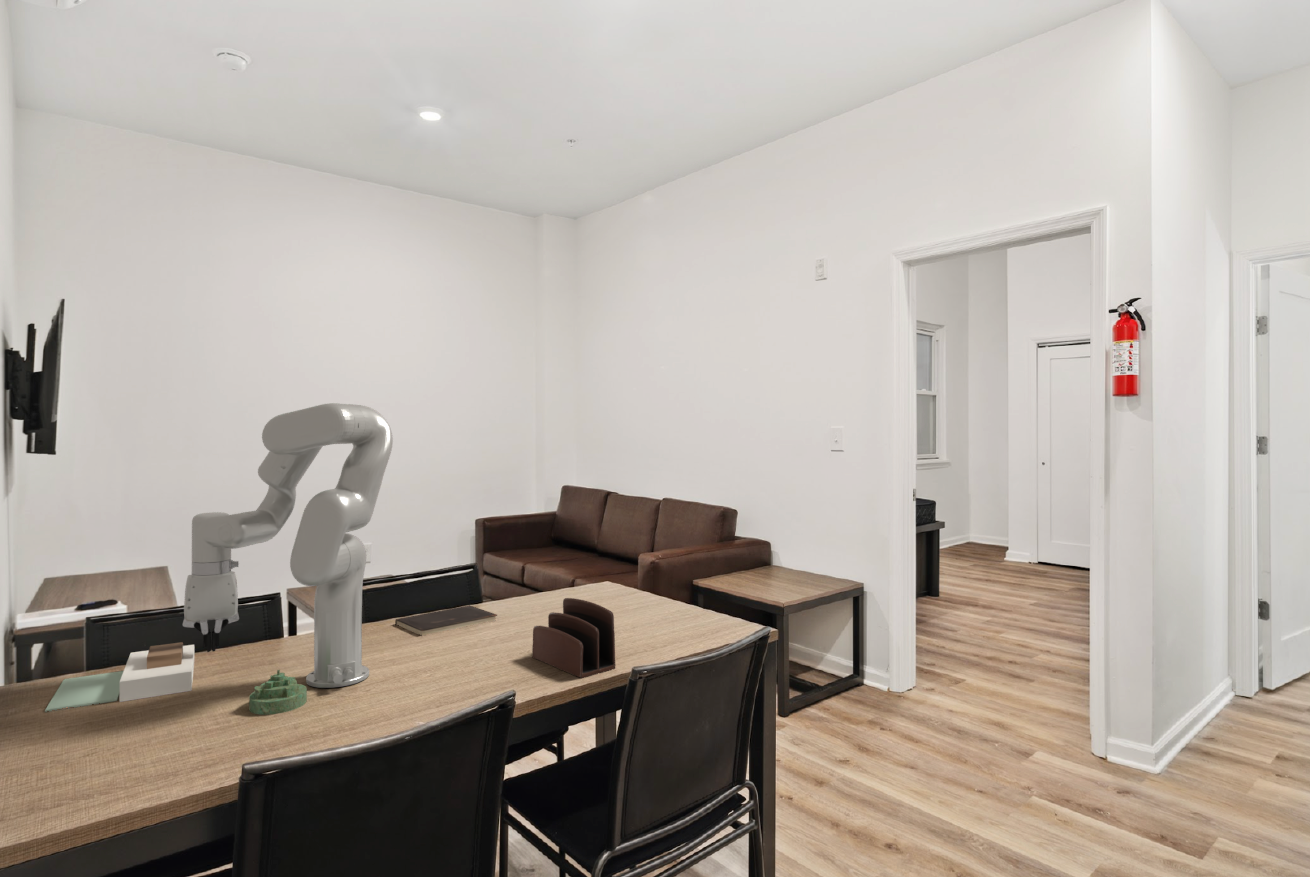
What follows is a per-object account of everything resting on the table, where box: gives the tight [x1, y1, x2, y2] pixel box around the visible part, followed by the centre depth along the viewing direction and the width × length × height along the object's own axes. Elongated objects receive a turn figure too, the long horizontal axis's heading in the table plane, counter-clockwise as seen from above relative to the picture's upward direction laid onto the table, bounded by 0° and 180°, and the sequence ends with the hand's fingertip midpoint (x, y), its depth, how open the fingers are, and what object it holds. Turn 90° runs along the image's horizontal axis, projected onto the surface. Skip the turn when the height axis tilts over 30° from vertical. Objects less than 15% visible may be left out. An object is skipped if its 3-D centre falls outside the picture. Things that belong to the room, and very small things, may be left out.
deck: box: [119, 644, 195, 703], centre depth 153 cm, size 22×12×4 cm, turn 32°
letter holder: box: [531, 597, 616, 679], centre depth 166 cm, size 10×20×14 cm, turn 43°
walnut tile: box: [147, 641, 184, 669], centre depth 154 cm, size 9×6×2 cm, turn 32°
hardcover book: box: [394, 605, 498, 637], centre depth 201 cm, size 16×23×2 cm
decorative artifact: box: [248, 669, 308, 716], centre depth 140 cm, size 10×7×10 cm
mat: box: [44, 670, 124, 713], centre depth 147 cm, size 20×11×1 cm, turn 32°
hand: (211, 650), depth 158 cm, fingers closed
